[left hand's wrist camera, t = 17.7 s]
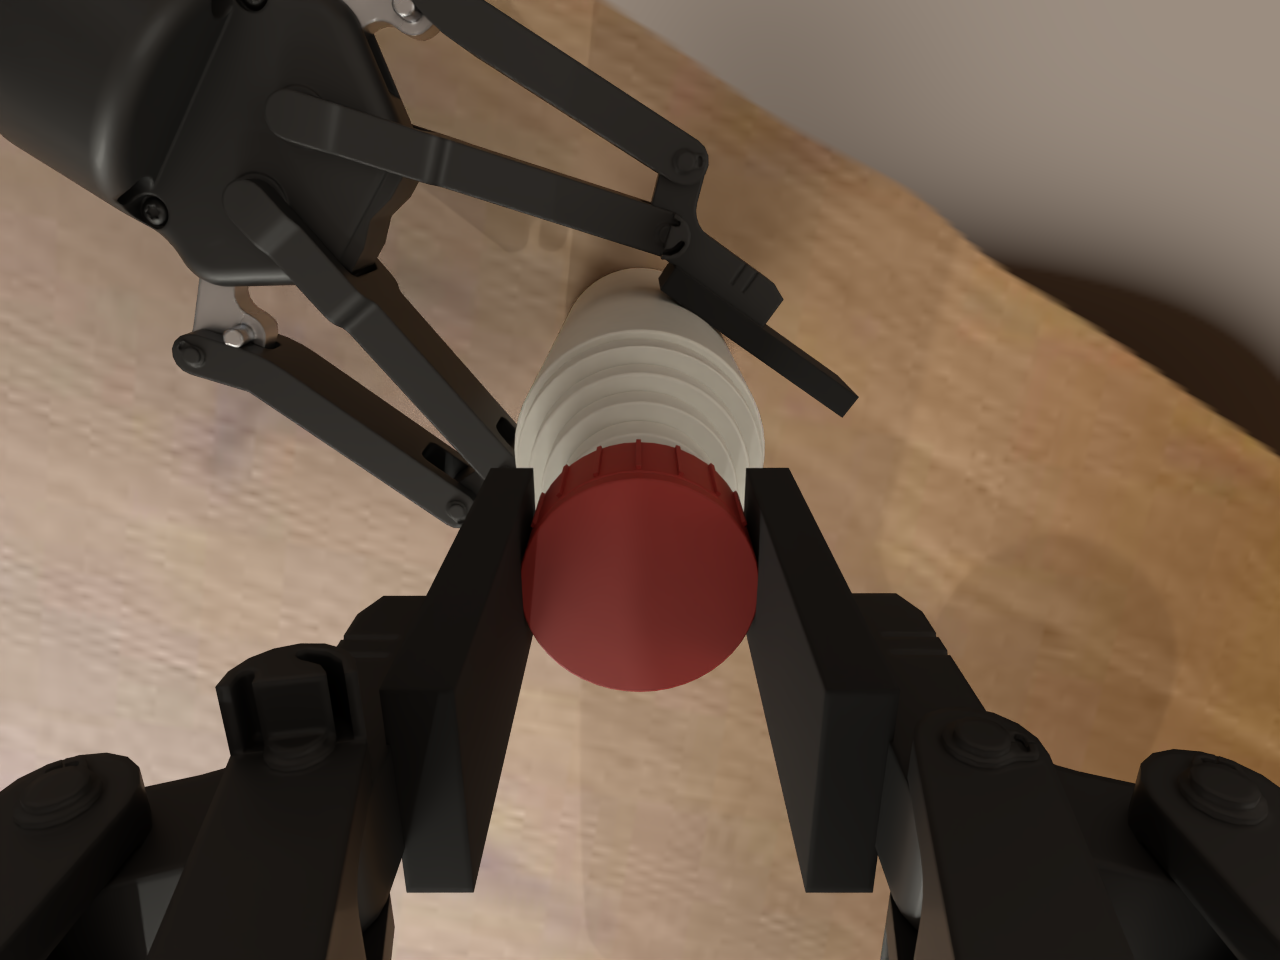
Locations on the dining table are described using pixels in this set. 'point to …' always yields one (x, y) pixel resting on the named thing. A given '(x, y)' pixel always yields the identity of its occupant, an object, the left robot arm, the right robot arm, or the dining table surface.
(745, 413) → the bottle
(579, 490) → the cap
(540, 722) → the dining table surface
